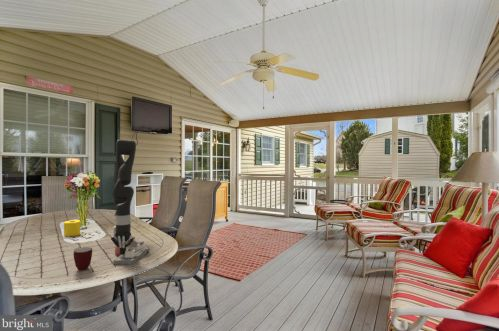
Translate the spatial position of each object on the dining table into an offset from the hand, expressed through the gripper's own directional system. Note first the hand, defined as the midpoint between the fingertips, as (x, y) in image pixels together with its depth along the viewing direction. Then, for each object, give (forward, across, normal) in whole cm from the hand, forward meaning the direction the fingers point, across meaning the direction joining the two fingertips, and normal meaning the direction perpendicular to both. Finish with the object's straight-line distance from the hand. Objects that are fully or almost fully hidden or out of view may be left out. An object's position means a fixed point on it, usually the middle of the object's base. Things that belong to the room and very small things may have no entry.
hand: (123, 254), depth 151 cm
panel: (+4, +2, +6) cm, 8 cm away
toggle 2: (+1, +5, +12) cm, 13 cm away
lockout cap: (+4, -7, +10) cm, 13 cm away
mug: (+4, -15, -12) cm, 20 cm away
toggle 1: (+1, +4, 0) cm, 4 cm away
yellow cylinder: (+4, -63, +49) cm, 80 cm away
